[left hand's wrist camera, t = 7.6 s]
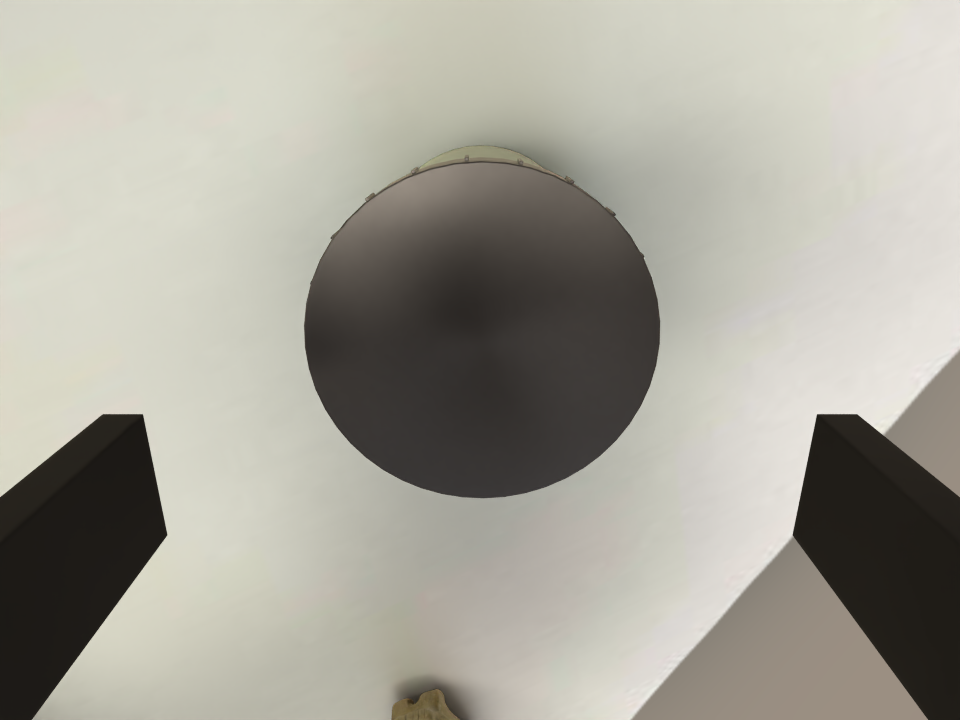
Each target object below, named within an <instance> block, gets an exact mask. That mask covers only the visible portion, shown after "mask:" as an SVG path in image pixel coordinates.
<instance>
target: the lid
mask: <svg viewBox="0 0 960 720" xmlns="http://www.w3.org/2000/svg"><path fill="white" fill-rule="evenodd" d="M573 183H574V181H573V180H572V179H571V178H569V177H567V176H566V178H563V177H561V176H559V175H557V174H555V173H553V172H551V171H549V170H546V169H543V168H540V167H537V166H534V165H531V164H528V163H524V162H523V161H522V159H520V158H518V159H517V161H514V160H509V159H503V158H485V157H477V158H469V155H465V158H464V159H455V160H450V161H446V162H441V163H437V164H433V165H430V166H427V167H424V168H422V169H419V168H418V167H416V168H414V169H413V170H412V171H411V173H409V174H407V175H405V176H404V177H402V178H400V179H398V180H396V181H394V182H392V183H391V184H389V185H388V186H387V187H385V188H384V189H382V190H381V191H380V192H378V193H377V194H376V195H375V194H374V193H372V194H371V195H369V196H368V197H367V198H366V199H365V200H366V201H367V202H365V203H364V204H363V205H362V206H361V207H360V208H359V209H358V210H357V211H356V212H355V213H354V214H353V215H352V216H351V217H350V218H349V219H348V220H347V221H346V222H345V223H344V224H343V226H342V227H341V228H340V229H339V230H338V231H337V232H336V233H335V234H334V235H332V237H331V239H332V240H331V242H330V243H329V245H328V247H327V249H326V250H325V252H324V254H323V256H322V257H321V259H320V262H319V264H318V267H317V269H316V272H315V274H314V277H313V279H312V281H311V283H310V284H311V286H310V290H309V294H308V298H307V303H306V312H305V322H304V332H305V349H306V355H307V360H308V366H309V370H310V373H311V376H312V380H313V383H314V386H315V389H316V391H317V393H318V395H319V397H320V399H321V402H322V404H323V406H324V408H325V410H326V411H327V413H328V414H329V416H330V417H331V419H332V420H333V422H334V423H335V425H336V427H337V428H338V429H339V430H340V431H341V433H342V434H343V435H344V436H345V437H346V438H347V440H348V441H349V442H350V443H351V444H352V445H353V446H354V447H355V448H356V449H357V450H358V451H360V452H361V453H362V454H363V455H364V456H365V457H366V458H367V459H369V460H370V461H372V462H373V463H374V464H376V465H377V466H379V467H380V468H381V469H383V470H384V471H386V472H388V473H390V474H392V475H393V476H395V477H397V478H399V479H401V480H403V481H405V482H408V483H410V484H413V485H415V486H417V487H420V488H423V489H426V490H430V491H433V492H437V493H441V494H446V495H452V496H458V497H470V498H494V497H506V496H512V495H517V494H523V493H527V492H531V491H534V490H537V489H541V488H544V487H547V486H549V485H551V484H554V483H556V482H558V481H561V480H563V479H565V478H567V477H569V476H571V475H572V474H574V473H576V472H578V471H579V470H581V469H583V468H584V467H586V466H587V465H588V464H590V463H591V462H592V461H594V460H595V459H596V458H598V457H599V456H600V455H601V454H602V453H604V452H605V451H606V450H607V449H608V448H609V447H610V446H611V445H612V444H613V443H614V442H615V441H616V440H617V439H618V437H619V436H620V435H621V434H622V433H623V431H624V430H625V429H626V428H627V426H628V425H629V424H630V422H631V421H632V419H633V418H634V416H635V414H636V413H637V411H638V409H639V408H640V406H641V404H642V402H643V400H644V398H645V395H646V393H647V391H648V389H649V387H650V384H651V380H652V377H653V374H654V371H655V367H656V363H657V356H658V350H659V344H660V317H659V309H658V300H657V296H656V292H655V288H654V285H653V281H652V277H651V275H650V273H649V270H648V268H647V265H646V263H645V261H644V255H643V254H642V253H641V252H640V251H639V249H638V248H637V246H636V244H635V243H634V241H633V239H632V238H631V236H630V235H629V234H628V232H627V231H626V230H625V229H624V227H623V226H622V225H621V224H620V223H619V221H618V220H617V219H616V218H615V217H614V216H615V215H616V214H615V213H614V212H613V211H611V210H610V209H609V208H607V207H606V208H605V207H604V206H602V205H601V204H600V203H599V202H598V201H597V200H596V199H594V198H593V197H592V196H590V195H589V194H588V193H586V192H585V191H583V190H582V189H581V188H579V187H578V186H576V185H575V184H573Z"/></svg>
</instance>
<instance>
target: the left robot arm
mask: <svg viewBox="0 0 960 720" xmlns="http://www.w3.org/2000/svg"><path fill="white" fill-rule="evenodd" d="M166 536H167V531H166V526H165V521H164V516H163V511H162V506H161V501H160V496H159V491H158V487H157V482H156V477H155V472H154V467H153V462H152V457H151V452H150V447H149V442H148V437H147V432H146V427H145V422H144V417H143V414H103V415H101V416H100V417H99V418H98V419H97V420H95V421H94V422H93V423H92V424H90V425H89V426H88V427H87V428H85V429H84V430H83V431H82V432H80V433H79V434H78V435H77V436H75V437H74V438H73V439H72V440H71V441H69V442H68V443H67V444H66V445H64V446H63V447H62V448H61V449H59V450H58V451H57V452H56V453H54V454H53V455H52V456H51V457H50V458H48V459H47V460H46V461H45V462H43V463H42V464H41V465H40V466H38V467H37V468H36V469H35V470H33V471H32V472H31V473H30V474H28V475H27V476H26V477H25V478H24V479H22V480H21V481H20V482H19V483H17V484H16V485H15V486H14V487H12V488H11V489H10V490H9V491H7V492H6V493H5V494H4V495H2V496H1V497H0V720H32V719H33V717H34V716H35V715H36V713H37V712H38V711H39V709H40V708H41V706H42V705H43V704H44V702H45V701H46V700H47V698H48V697H49V696H50V694H51V693H52V691H53V690H54V689H55V687H56V686H57V685H58V683H59V682H60V681H61V679H62V678H63V677H64V675H65V674H66V672H67V671H68V670H69V668H70V667H71V666H72V664H73V663H74V662H75V660H76V659H77V657H78V656H79V655H80V653H81V652H82V651H83V649H84V648H85V647H86V645H87V644H88V642H89V641H90V640H91V638H92V637H93V636H94V634H95V633H96V632H97V630H98V629H99V628H100V626H101V625H102V623H103V622H104V621H105V619H106V618H107V617H108V615H109V614H110V613H111V611H112V610H113V608H114V607H115V606H116V604H117V603H118V602H119V600H120V599H121V598H122V596H123V595H124V593H125V592H126V591H127V589H128V588H129V587H130V585H131V584H132V583H133V581H134V580H135V579H136V577H137V576H138V574H139V573H140V572H141V570H142V569H143V568H144V566H145V565H146V564H147V562H148V561H149V559H150V558H151V557H152V555H153V554H154V553H155V551H156V550H157V549H158V547H159V546H160V544H161V543H162V542H163V540H164V539H165V538H166ZM793 536H794V538H795V539H796V540H797V542H798V543H799V544H800V546H801V547H802V549H803V550H804V551H805V553H806V554H807V555H808V557H809V558H810V559H811V561H812V562H813V563H814V565H815V566H816V568H817V569H818V570H819V572H820V573H821V574H822V576H823V577H824V579H825V580H826V581H827V583H828V584H829V585H830V587H831V588H832V589H833V591H834V592H835V593H836V595H837V596H838V598H839V599H840V600H841V602H842V603H843V604H844V606H845V607H846V608H847V610H848V611H849V612H850V614H851V615H852V617H853V618H854V619H855V621H856V622H857V623H858V625H859V626H860V628H861V629H862V630H863V632H864V633H865V634H866V636H867V637H868V638H869V640H870V641H871V642H872V644H873V645H874V646H875V648H876V649H877V651H878V652H879V653H880V655H881V656H882V657H883V659H884V660H885V662H886V663H887V664H888V666H889V667H890V668H891V670H892V671H893V672H894V674H895V675H896V677H897V678H898V679H899V681H900V682H901V683H902V685H903V686H904V687H905V689H906V690H907V691H908V693H909V694H910V696H911V697H912V698H913V700H914V701H915V702H916V704H917V705H918V706H919V708H920V709H921V711H922V712H923V713H924V715H925V716H926V717H927V719H928V720H960V497H959V496H958V495H956V494H955V493H954V492H953V491H951V490H950V489H949V488H948V487H946V486H945V485H944V484H943V483H941V482H940V481H939V480H938V479H936V478H935V477H934V476H933V475H931V474H930V473H929V472H928V471H927V470H925V469H924V468H923V467H922V466H920V465H919V464H918V463H917V462H915V461H914V460H913V459H912V458H910V457H909V456H908V455H907V454H906V453H904V452H903V451H902V450H901V449H899V448H898V447H897V446H896V445H894V444H893V443H892V442H891V441H889V440H888V439H887V438H886V437H885V436H883V435H882V434H881V433H880V432H878V431H877V430H876V429H875V428H873V427H872V426H871V425H870V424H868V423H867V422H866V421H865V420H863V419H862V418H861V417H860V416H859V415H857V414H817V417H816V422H815V427H814V432H813V437H812V442H811V447H810V452H809V457H808V462H807V467H806V472H805V477H804V482H803V487H802V491H801V496H800V501H799V506H798V511H797V516H796V521H795V526H794V531H793Z"/></svg>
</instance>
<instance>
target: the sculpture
mask: <svg viewBox="0 0 960 720" xmlns="http://www.w3.org/2000/svg"><path fill="white" fill-rule="evenodd" d="M392 720H460V719H459V718H458V717H456V716H455V715H454V714H453V713H452V712H451V711H450V710H449V709H448V707H447V705H446V703H445V697H444V694H443V693H442V692H441V691H440V690H439V689H434V690H431V691H427V692H424V693H422V694H421V696H420V698H419V700H418V701H417V703H416V704H414V701H413V700H412V699H410V698H406V699H403V700H401V701H399V702H397V703H395V704H394V705H393V708H392Z"/></svg>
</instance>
